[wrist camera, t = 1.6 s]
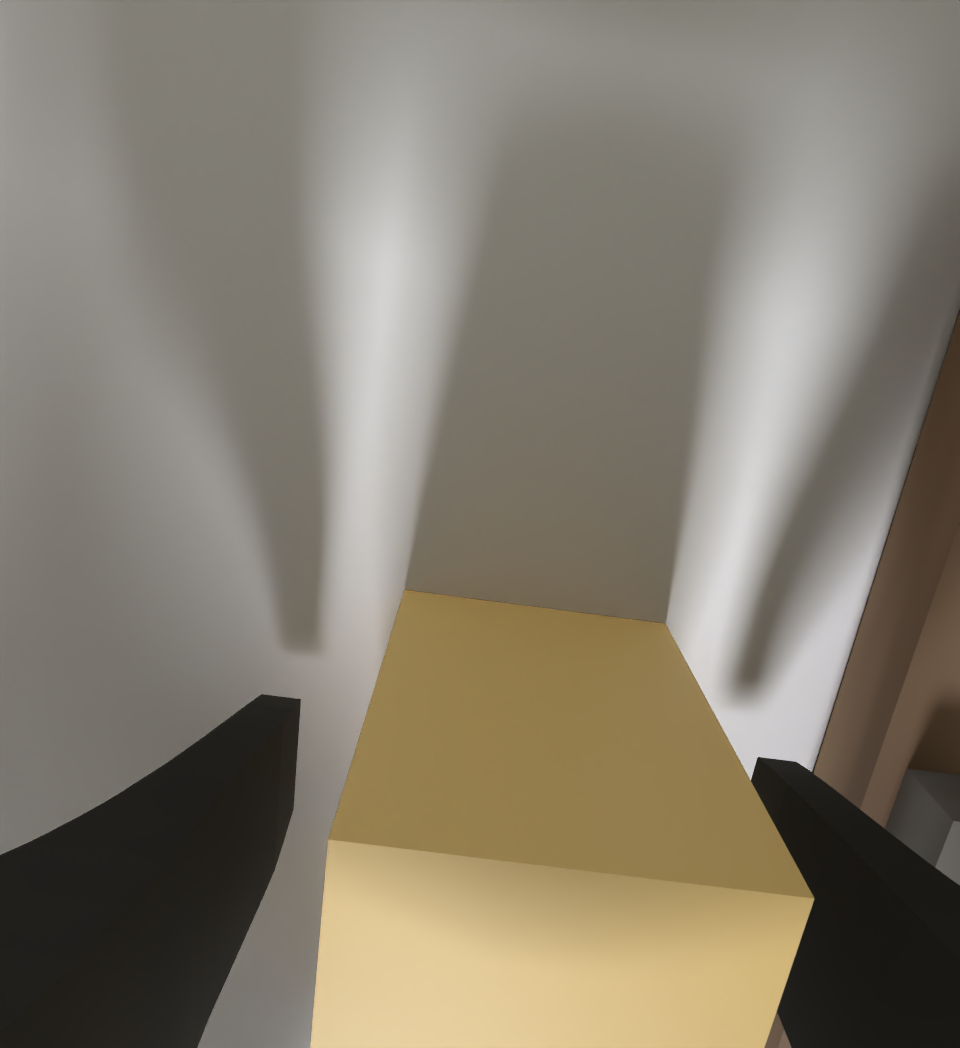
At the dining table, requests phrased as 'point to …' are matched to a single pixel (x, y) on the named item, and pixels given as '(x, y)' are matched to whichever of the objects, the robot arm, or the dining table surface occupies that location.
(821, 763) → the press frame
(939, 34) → the dining table surface
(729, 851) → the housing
